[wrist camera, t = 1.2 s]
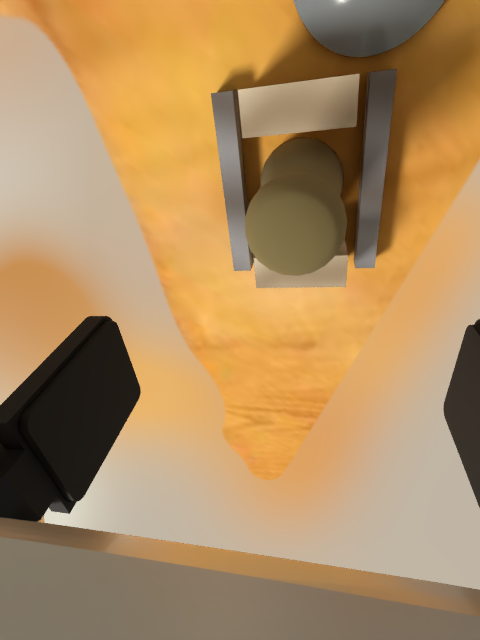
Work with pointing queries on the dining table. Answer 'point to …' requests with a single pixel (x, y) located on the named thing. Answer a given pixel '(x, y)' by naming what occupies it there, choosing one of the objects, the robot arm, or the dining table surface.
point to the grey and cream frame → (294, 117)
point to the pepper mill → (298, 209)
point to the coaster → (364, 23)
